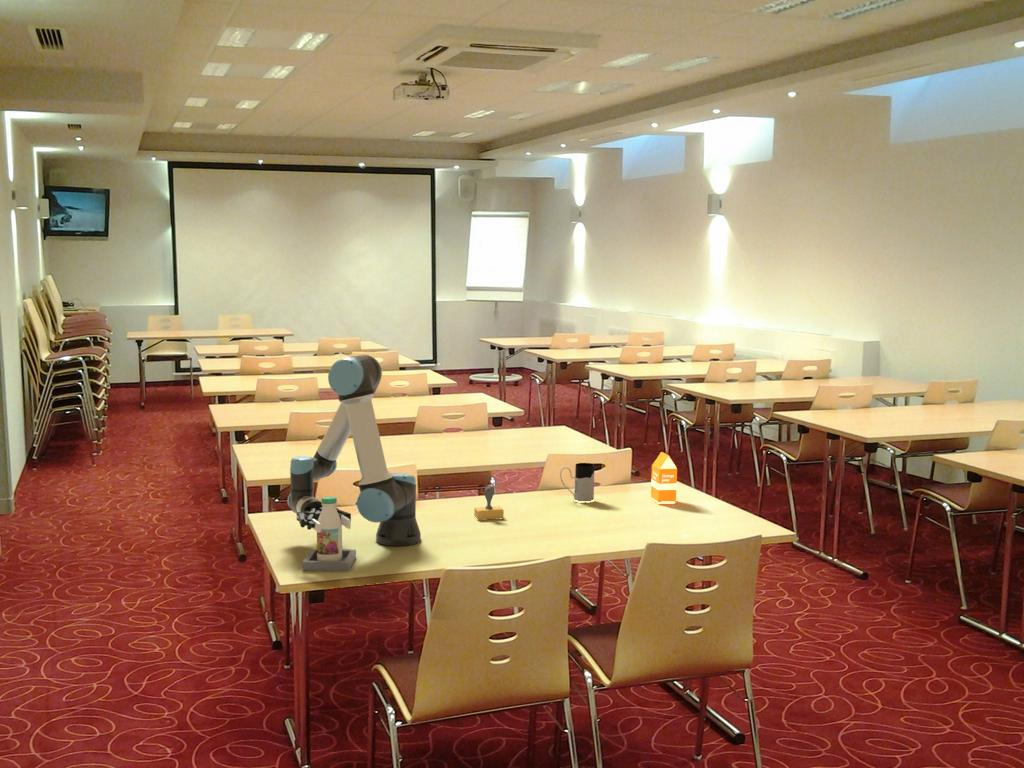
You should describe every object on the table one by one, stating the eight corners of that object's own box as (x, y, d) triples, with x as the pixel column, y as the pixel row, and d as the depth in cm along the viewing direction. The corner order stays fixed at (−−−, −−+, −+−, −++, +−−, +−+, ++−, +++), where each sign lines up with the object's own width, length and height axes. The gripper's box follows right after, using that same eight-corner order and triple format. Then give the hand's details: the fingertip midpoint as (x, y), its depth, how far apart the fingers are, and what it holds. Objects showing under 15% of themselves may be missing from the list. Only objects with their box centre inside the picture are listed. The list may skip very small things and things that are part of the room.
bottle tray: (356, 558, 305) (355, 549, 304) (348, 571, 291) (348, 562, 290) (312, 557, 305) (312, 548, 304) (302, 570, 291) (302, 561, 290)
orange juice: (657, 504, 382) (659, 455, 379) (650, 499, 390) (652, 451, 388) (676, 504, 383) (678, 455, 381) (668, 499, 392) (670, 451, 390)
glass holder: (595, 503, 382) (596, 467, 380) (560, 503, 381) (561, 466, 380) (593, 498, 390) (594, 462, 389) (558, 498, 390) (559, 462, 388)
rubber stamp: (477, 520, 353) (478, 489, 352) (474, 517, 359) (474, 485, 357) (503, 519, 356) (504, 487, 354) (499, 515, 361) (500, 484, 360)
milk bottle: (324, 557, 302) (323, 494, 301) (346, 559, 300) (346, 496, 299) (312, 563, 295) (311, 498, 294) (335, 564, 293) (334, 500, 292)
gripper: (342, 517, 317) (367, 533, 298) (278, 524, 307) (300, 542, 287) (342, 495, 316) (367, 510, 297) (278, 502, 306) (300, 518, 286)
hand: (334, 526), depth 292 cm, fingers open, 9 cm apart
